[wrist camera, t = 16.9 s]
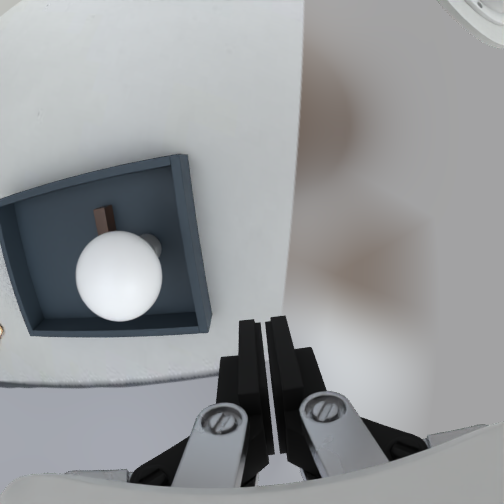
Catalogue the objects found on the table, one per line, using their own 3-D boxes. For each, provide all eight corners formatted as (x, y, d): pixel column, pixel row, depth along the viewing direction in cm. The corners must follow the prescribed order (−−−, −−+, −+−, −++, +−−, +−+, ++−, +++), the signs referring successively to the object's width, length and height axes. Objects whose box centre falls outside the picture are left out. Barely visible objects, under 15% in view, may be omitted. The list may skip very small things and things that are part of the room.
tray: (187, 154, 26) (179, 153, 23) (212, 314, 30) (208, 333, 27) (11, 196, 26) (-9, 201, 23) (44, 322, 31) (30, 336, 27)
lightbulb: (146, 289, 29) (102, 352, 18) (107, 237, 27) (44, 279, 17) (196, 254, 28) (168, 310, 18) (155, 198, 26) (102, 223, 16)
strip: (111, 204, 27) (103, 207, 25) (131, 293, 29) (125, 301, 27) (101, 206, 27) (92, 209, 25) (120, 294, 29) (114, 301, 27)
